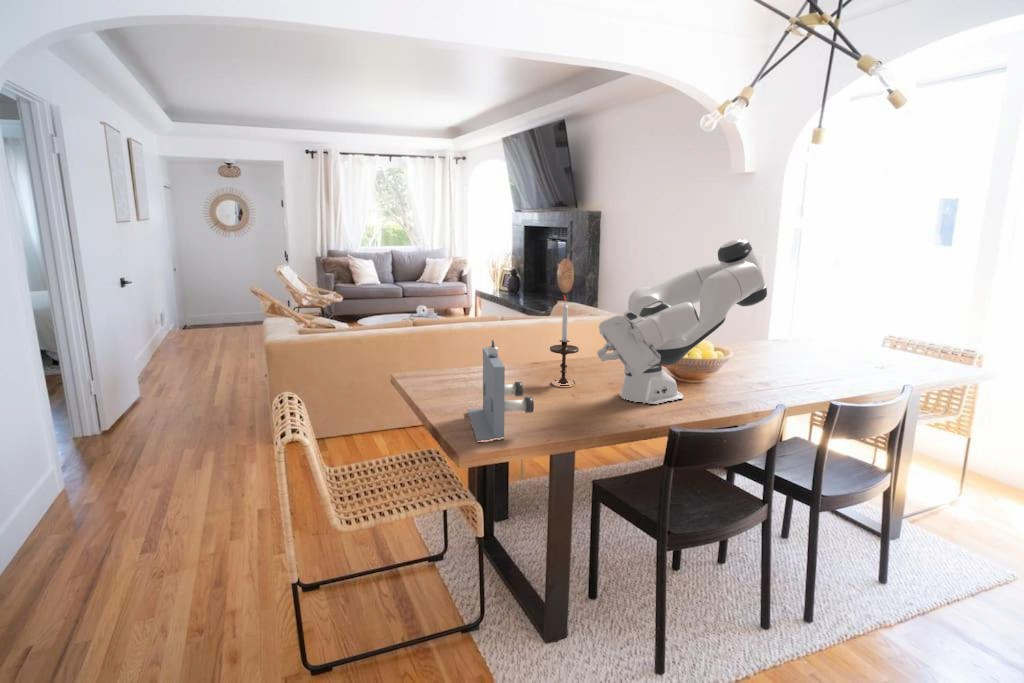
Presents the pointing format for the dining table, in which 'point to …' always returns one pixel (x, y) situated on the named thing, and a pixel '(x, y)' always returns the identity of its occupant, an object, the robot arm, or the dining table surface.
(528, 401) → the knob
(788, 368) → the dining table surface
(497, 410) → the mount
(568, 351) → the candlestick
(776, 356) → the dining table surface
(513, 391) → the knob
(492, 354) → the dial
